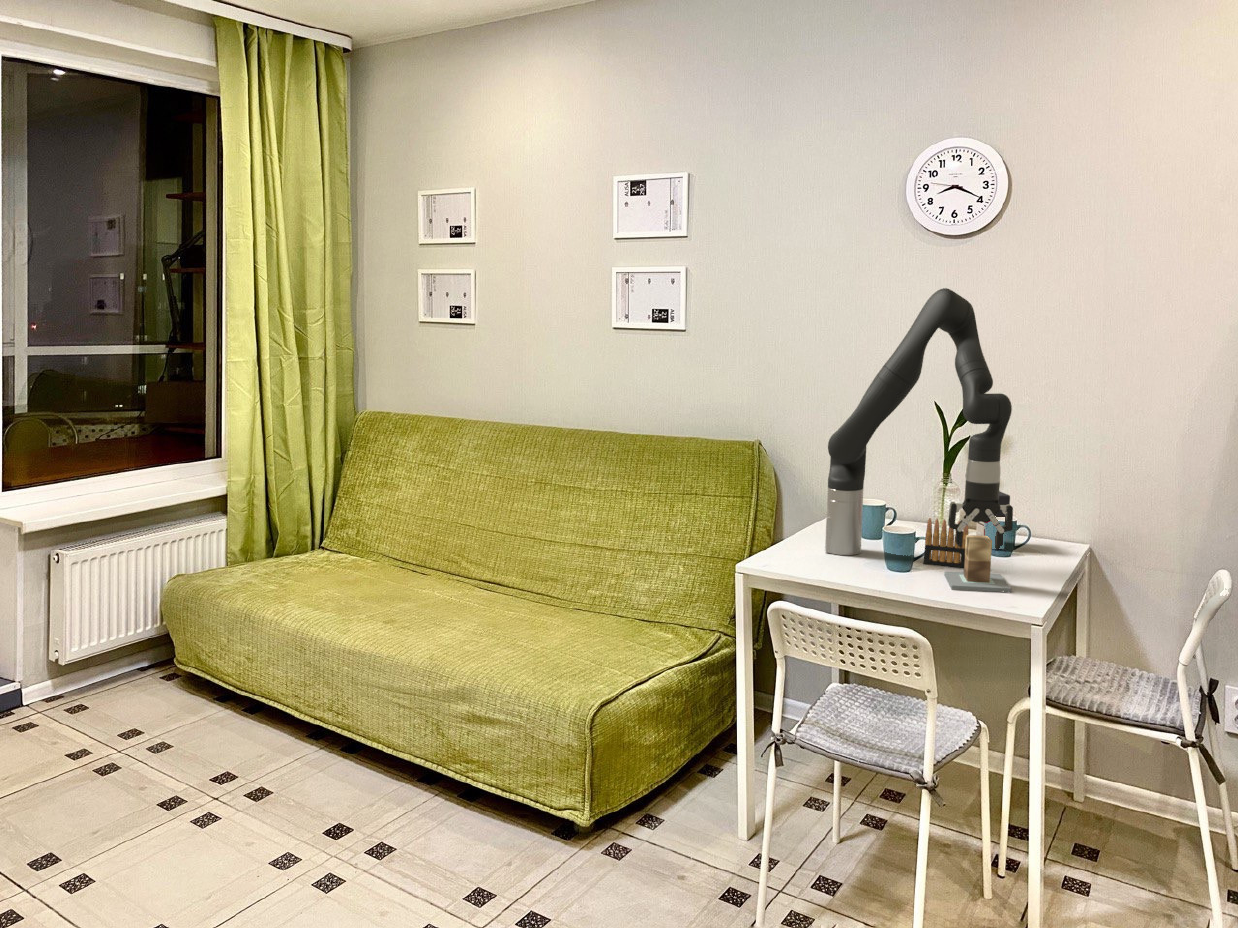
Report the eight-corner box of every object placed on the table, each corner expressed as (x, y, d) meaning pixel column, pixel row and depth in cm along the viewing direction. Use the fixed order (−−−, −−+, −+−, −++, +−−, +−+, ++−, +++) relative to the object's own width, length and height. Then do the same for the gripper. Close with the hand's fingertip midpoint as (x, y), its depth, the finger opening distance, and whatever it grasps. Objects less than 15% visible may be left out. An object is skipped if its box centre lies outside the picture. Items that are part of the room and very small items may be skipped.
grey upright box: (974, 541, 283) (977, 488, 281) (988, 540, 283) (992, 488, 281) (991, 550, 272) (994, 495, 270) (1006, 550, 273) (1010, 495, 270)
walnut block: (967, 581, 237) (968, 560, 237) (963, 575, 242) (965, 555, 242) (989, 582, 237) (990, 561, 236) (985, 576, 242) (987, 556, 241)
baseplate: (951, 589, 235) (951, 585, 234) (944, 575, 247) (944, 570, 247) (1010, 592, 232) (1010, 587, 232) (1000, 577, 245) (1000, 573, 245)
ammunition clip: (968, 567, 255) (970, 520, 253) (967, 569, 253) (970, 522, 251) (924, 562, 259) (926, 516, 257) (923, 564, 258) (925, 518, 256)
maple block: (968, 560, 237) (969, 539, 236) (964, 555, 242) (965, 535, 241) (990, 561, 236) (992, 540, 235) (986, 556, 241) (987, 535, 240)
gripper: (953, 480, 233) (949, 549, 236) (1018, 482, 231) (1013, 552, 233) (948, 475, 241) (944, 542, 243) (1011, 477, 238) (1007, 544, 241)
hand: (978, 547), depth 238 cm, fingers open, 8 cm apart
